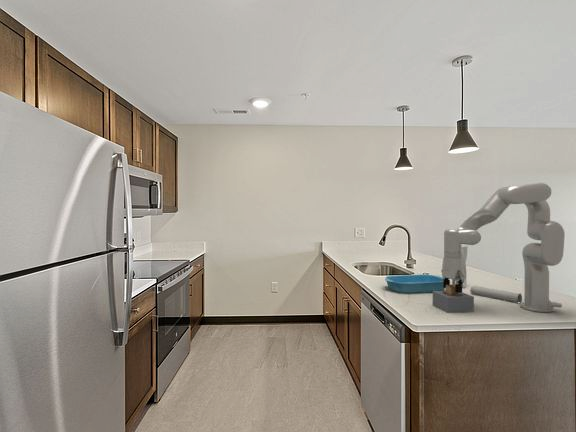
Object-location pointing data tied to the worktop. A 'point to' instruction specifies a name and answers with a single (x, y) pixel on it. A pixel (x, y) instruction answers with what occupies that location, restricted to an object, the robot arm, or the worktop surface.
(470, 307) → the socket
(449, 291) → the peg
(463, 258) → the skyscraper
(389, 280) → the casserole dish
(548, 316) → the worktop surface
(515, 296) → the tube
